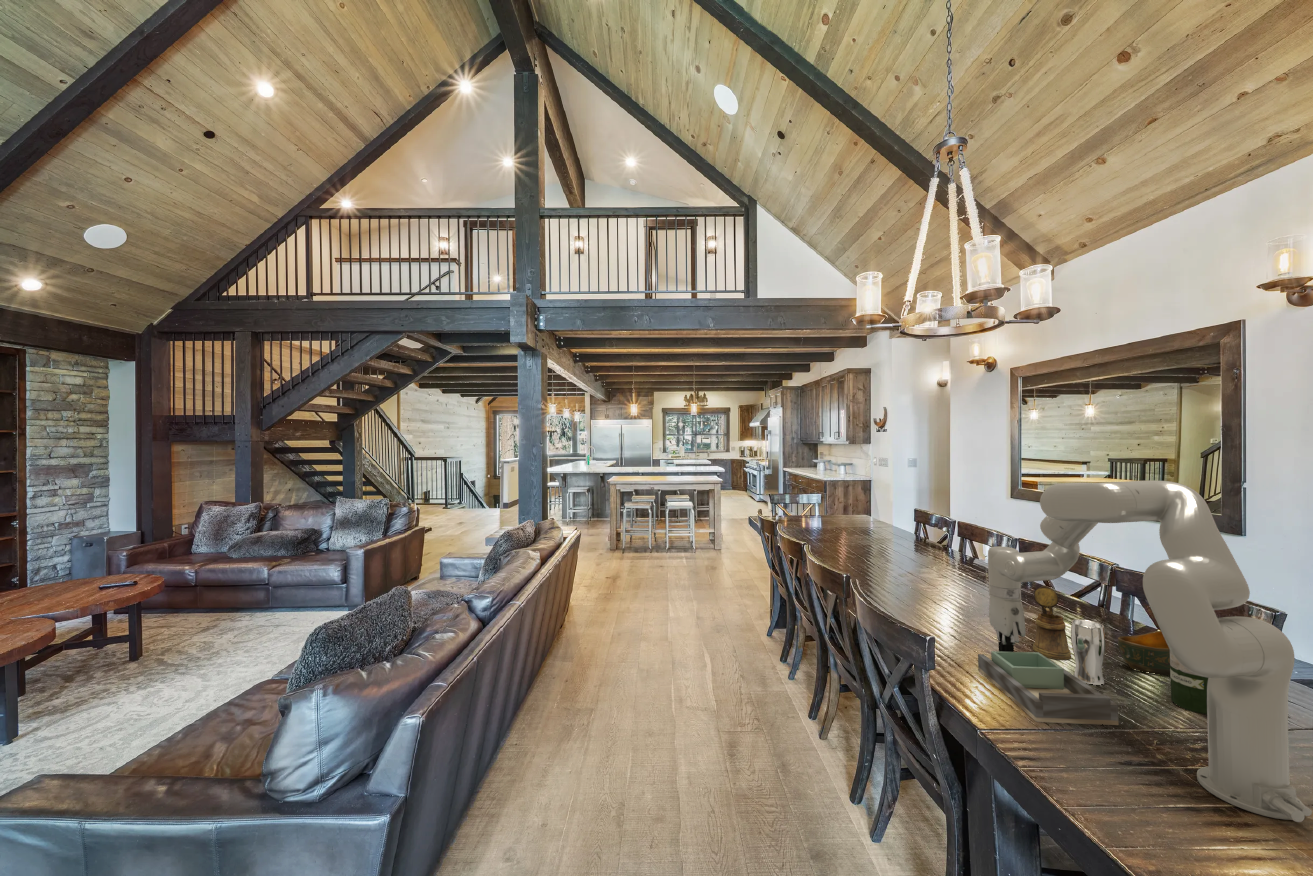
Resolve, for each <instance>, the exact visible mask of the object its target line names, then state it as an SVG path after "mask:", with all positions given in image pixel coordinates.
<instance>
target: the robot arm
mask: <svg viewBox="0 0 1313 876" xmlns="http://www.w3.org/2000/svg"><path fill="white" fill-rule="evenodd" d="M1039 498H1040V499H1039V505H1040V508H1041V510H1042V513H1044V514H1045V517H1044V518H1043V519H1042V520H1041V522H1040V524H1039V528H1040V530H1041V532H1042V534H1043V535H1044V536H1045V538H1046V539H1048V540H1049V541H1050V542H1051V543H1050V544H1049V545H1048V546H1047V547H1046V548H1045V549H1044V550H1041V551H1026V552H1019V550H1018V549H1017V548H1015V547H1009V546H1000V545H999V546H991V547H990V548H989V549H988V550H987V570H988V572H987V574H988V596H989V602H988V603H989V604H988V618H989V625H990V626H992V627H993V630H994V631H995V632H996V638H997V641H998V646H997V647H998V651H1002V652H1015V645H1016V643H1020V637H1022V638H1024V637H1026V632H1027V631H1026V622H1025V621H1026V620H1025V612H1024V606H1023V603H1022V602H1023V601H1022V583H1029V582H1030V583H1031V582H1032V583H1033V582H1040V581H1041V582H1042V581H1054V580H1056V579H1059V578H1061V577H1062V576H1064V575H1065V574H1066V573H1067V572H1068V571H1069V570H1070V569H1071V568H1072V567H1074V565H1075V564H1076V563H1077V562H1078V559H1079V557H1080V552H1081V549H1080V544H1079V543H1080V542H1081V541H1082V540H1084V538H1085V537H1086V536H1087V535H1088V534H1089V533H1090V532H1091V531H1092V530H1093V529H1094V528H1095V527H1096V526H1097V525H1098V524H1119V523H1120V524H1121V523H1122V524H1123V523H1137V522H1138V523H1139V522H1140V523H1141V522H1150V521H1153V522H1154V521H1156V522H1160V524H1159V528H1158V529H1159V530H1158V531H1159V532H1158V533H1159V534H1158V535H1159V539H1160V540H1159V541H1160V543H1161V545H1162V547H1163V549H1164V550H1165V552H1166V555H1167V557H1168V559H1162V560H1159V561H1156V562H1154V563H1153V562H1152V564H1150V565H1149V566H1148V567H1147V568H1146V569H1145V571H1144V573H1143V575H1142V576H1143V577H1142V588H1143V593H1144V596H1145V598H1146V600H1147V603H1148V605H1149V607H1150V609H1151V611H1152V613H1153V617H1154V619H1155V621H1156V623H1157V625H1158V627H1159V629H1160V631H1161V632H1162V634H1163V636H1164V638H1165V640H1166V643H1167V645H1168V647H1169V648H1170V650H1171V652H1172V653H1173V655H1174V656H1175V658H1176V659H1177V660H1178V661H1179V662H1180V663H1181V664H1182V665H1183V666H1184V667H1185V668H1186V669H1188V670H1189V671H1191V672H1193V673H1195V674H1197V675H1200V676H1203V677H1207V678H1208V683H1207V714H1206V715H1207V716H1206V717H1207V718H1206V719H1207V750H1208V751H1207V752H1208V753H1207V755H1208V766H1203V767H1200V768H1198V770H1196V771H1197V772H1196V779H1197V781H1198V783H1199V784H1200V785H1201V787H1202V788H1204V789H1205V790H1206V791H1207V792H1209V793H1211V795H1214V796H1215V797H1216V798H1218V799H1221V800H1222V801H1224V802H1225V803H1228V804H1231V805H1233V806H1234V807H1236V808H1240V809H1242V810H1244V811H1247V812H1249V813H1250V812H1251V813H1254V814H1255V815H1260V816H1263V817H1268V818H1271V819H1280V820H1288V821H1294V822H1296V823H1302V822H1303V821H1304V820H1305V817H1310V816H1311V815H1312V814H1313V811H1312V809H1311V808H1310V807H1308V806H1307V805H1305V804H1304V803H1303V802H1302V801H1301V800H1300V798H1298V797H1297V789H1296V788H1295V787H1293V786H1292V785H1290V756H1289V755H1290V754H1289V752H1290V751H1289V747H1290V746H1289V690H1290V683H1291V678H1292V674H1293V672H1294V666H1295V650H1294V647H1293V645H1292V642H1291V641H1290V639H1289V638H1288V637H1287V635H1286V634H1285V633H1283V631H1282V630H1280V629H1279V628H1278V627H1276V626H1275V625H1273V624H1271V623H1270V622H1267V621H1266V620H1265V621H1264V620H1262V619H1260V618H1254V617H1250V616H1249V617H1248V616H1236V615H1235V616H1225V617H1218V616H1217V613H1216V612H1215V611H1218V610H1227V609H1233V608H1236V607H1240V606H1242V605H1244V604H1246V603H1247V602H1248V600H1249V599H1250V594H1251V593H1250V592H1251V591H1250V587H1249V584H1248V582H1247V580H1246V578H1245V576H1244V574H1243V572H1242V570H1241V568H1240V566H1239V565H1238V563H1237V561H1236V559H1235V558H1234V555H1233V554H1232V552H1231V550H1230V548H1229V546H1228V544H1227V542H1226V540H1225V539H1224V537H1223V536H1222V534H1221V532H1220V530H1219V529H1218V525H1217V524H1216V521H1215V519H1214V517H1213V514H1212V512H1211V510H1210V507H1209V505H1208V504H1207V502H1206V500H1205V499H1204V497H1202V496H1201V495H1200V493H1199V492H1197V491H1196V490H1195V489H1193V488H1191V487H1189V486H1188V485H1185V484H1182V483H1179V482H1174V481H1170V480H1169V481H1168V480H1130V481H1129V480H1128V481H1111V482H1109V481H1108V482H1107V481H1106V482H1093V483H1092V482H1065V483H1055V484H1052V485H1050V486H1048V487H1047V488H1046V489H1044V491H1043V492H1042V493H1041V495H1040V497H1039Z"/></svg>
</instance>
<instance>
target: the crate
mask: <svg viewBox="0 0 1313 876" xmlns="http://www.w3.org/2000/svg"><path fill="white" fill-rule="evenodd" d="M990 652H991V653H990V655H991V657H990V658H991V659H990V660H991V661H993V662H994V663H995V664H996V665H998V666H999V667H1000V668H1001V669H1002V670H1004V671H1005V672H1006V673H1007V674H1009V675H1010V676H1011V677H1012V678H1014V679H1015V680H1016V681H1017V682H1019V683H1020V684H1021V685H1022V686H1023V687H1025V688H1052V689H1064V670H1063V669H1064V667H1062V668H1061V666H1060V665H1059V666H1058V664H1057V663H1056V664H1055V662H1054V661H1053V660H1051V659H1050V658H1046V657H1045V656H1043V655H1042V654H1040V653H1039V652H1034V651H1033V652H1032V651H1014V652H1002V651H999V650H998V651H995V650H994V651H990ZM1049 659H1050V660H1049ZM1052 661H1053V662H1052Z"/></svg>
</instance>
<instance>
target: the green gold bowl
mask: <svg viewBox="0 0 1313 876" xmlns="http://www.w3.org/2000/svg"><path fill="white" fill-rule="evenodd" d="M1117 646H1118V651H1119V653H1120V655H1121V658H1122V659H1123V660H1124V662H1125V663H1126V664H1128V667H1129V668H1130V667H1131V668H1133V669H1136V670H1140V671H1143V672H1149V673H1155V674H1160V675H1159V676H1164V675H1170V648H1169V647H1168V645H1167V643H1166V640H1165V638H1164V636H1163V634H1162V632H1161V630H1158V631H1152V632H1147V633H1143V634H1136V635H1122V636H1118V637H1117ZM1131 668H1130V669H1131ZM1133 669H1132V670H1133ZM1155 674H1154V675H1155Z"/></svg>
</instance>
